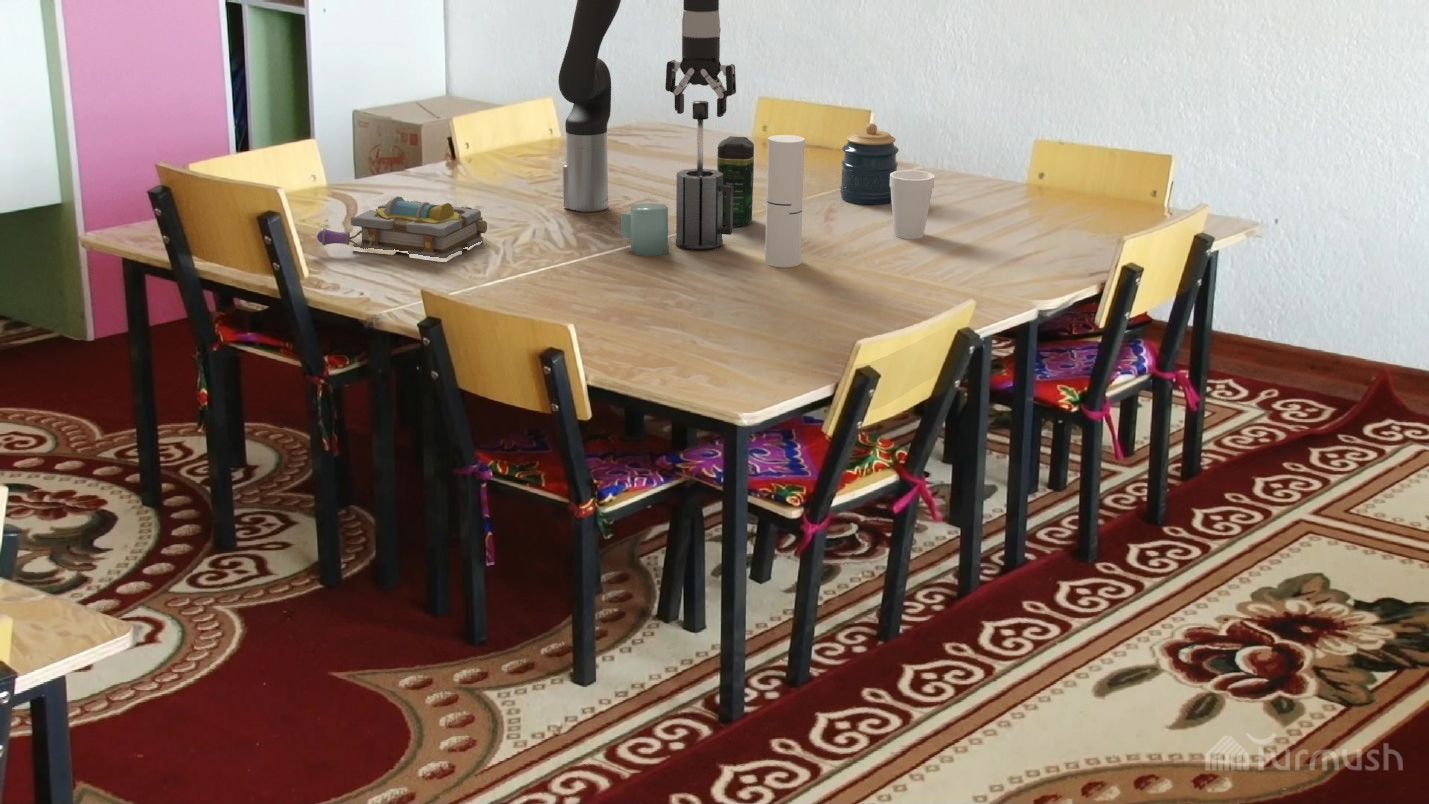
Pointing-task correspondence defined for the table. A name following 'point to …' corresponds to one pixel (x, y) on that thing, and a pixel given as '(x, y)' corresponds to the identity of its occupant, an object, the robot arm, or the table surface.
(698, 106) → the plunger
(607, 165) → the robot arm
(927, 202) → the foam cup
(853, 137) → the canister
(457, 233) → the decorative book
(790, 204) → the cylindrical container
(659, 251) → the teal mug
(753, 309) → the table surface
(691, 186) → the faceted grey mug
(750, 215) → the coffee jar
